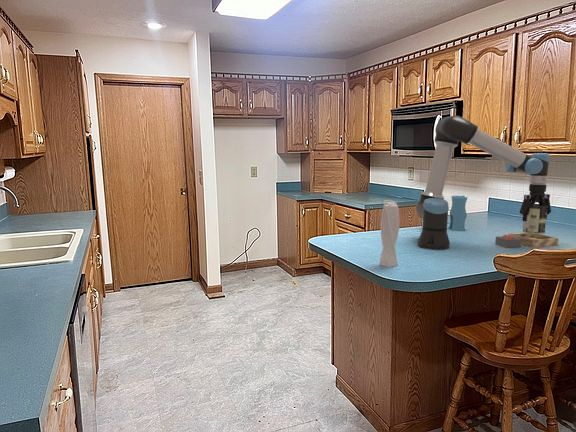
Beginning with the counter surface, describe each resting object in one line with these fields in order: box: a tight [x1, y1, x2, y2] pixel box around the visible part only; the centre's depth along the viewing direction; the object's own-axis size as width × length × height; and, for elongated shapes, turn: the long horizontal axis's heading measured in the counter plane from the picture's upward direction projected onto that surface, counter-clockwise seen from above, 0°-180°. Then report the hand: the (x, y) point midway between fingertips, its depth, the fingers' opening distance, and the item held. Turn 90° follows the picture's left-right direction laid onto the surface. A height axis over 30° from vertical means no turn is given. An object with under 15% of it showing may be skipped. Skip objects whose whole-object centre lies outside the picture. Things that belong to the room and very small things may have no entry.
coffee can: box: [522, 203, 548, 235], centre depth 220 cm, size 10×10×14 cm
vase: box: [448, 195, 469, 232], centre depth 255 cm, size 8×8×20 cm
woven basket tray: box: [507, 232, 559, 248], centre depth 222 cm, size 16×16×4 cm
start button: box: [502, 233, 513, 239], centre depth 215 cm, size 4×4×4 cm
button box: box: [494, 235, 522, 249], centre depth 216 cm, size 8×8×4 cm
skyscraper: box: [379, 199, 400, 268], centre depth 179 cm, size 8×8×28 cm
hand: (533, 227), depth 221 cm, fingers closed on coffee can, 10 cm apart
